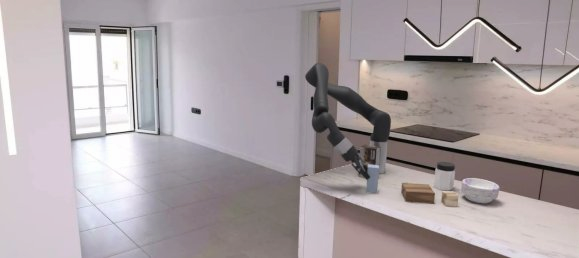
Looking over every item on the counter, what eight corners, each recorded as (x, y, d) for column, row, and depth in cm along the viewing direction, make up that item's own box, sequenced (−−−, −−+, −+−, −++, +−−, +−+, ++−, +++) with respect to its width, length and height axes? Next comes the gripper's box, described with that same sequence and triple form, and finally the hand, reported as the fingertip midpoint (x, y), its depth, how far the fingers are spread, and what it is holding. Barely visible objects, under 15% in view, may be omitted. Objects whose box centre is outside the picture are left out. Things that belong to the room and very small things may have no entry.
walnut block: (401, 193, 186) (401, 182, 185) (427, 194, 185) (428, 184, 184) (405, 202, 174) (406, 191, 174) (433, 204, 173) (435, 193, 172)
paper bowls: (501, 207, 171) (504, 190, 170) (464, 204, 174) (466, 186, 173) (491, 195, 186) (493, 179, 184) (457, 192, 189) (458, 176, 187)
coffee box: (379, 176, 209) (381, 146, 207) (374, 179, 204) (377, 148, 201) (362, 173, 214) (364, 144, 211) (357, 176, 209) (360, 146, 206)
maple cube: (441, 202, 175) (442, 191, 175) (452, 202, 176) (453, 191, 175) (445, 206, 171) (447, 195, 170) (457, 206, 171) (458, 195, 170)
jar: (447, 191, 189) (450, 167, 187) (431, 187, 195) (433, 163, 193) (455, 188, 195) (458, 164, 193) (439, 183, 201) (442, 160, 199)
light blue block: (366, 188, 190) (368, 164, 187) (377, 189, 189) (379, 165, 186) (366, 192, 185) (367, 167, 183) (377, 193, 184) (379, 168, 182)
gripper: (341, 150, 194) (363, 175, 194) (338, 158, 180) (362, 185, 180) (353, 140, 191) (375, 166, 192) (351, 148, 178) (375, 175, 178)
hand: (368, 175), depth 186 cm, fingers open, 8 cm apart
